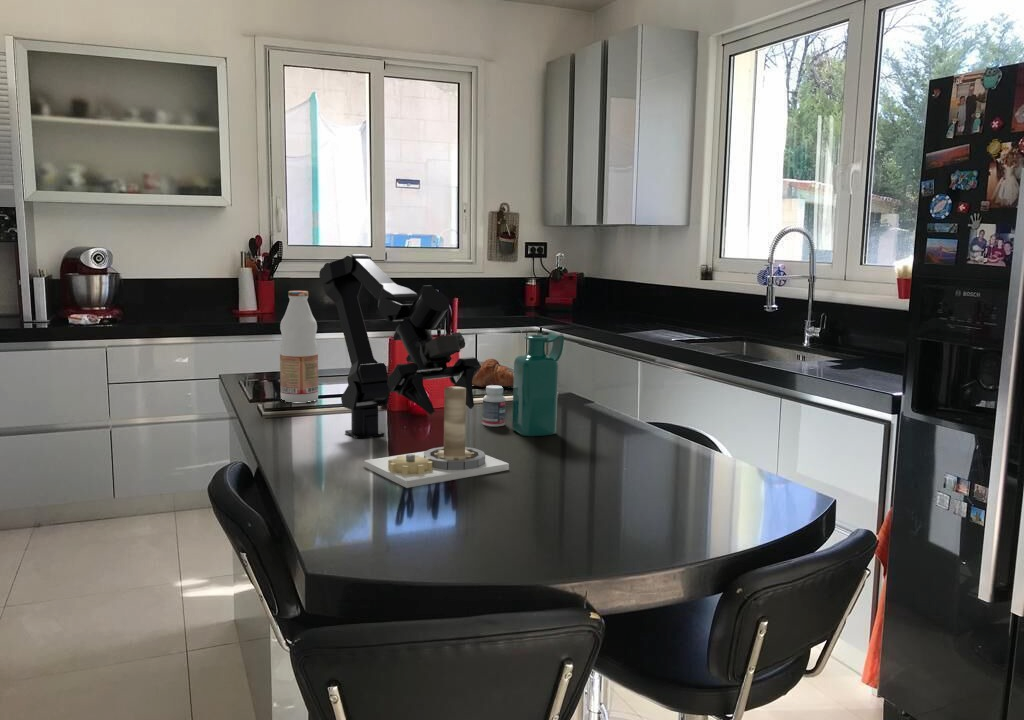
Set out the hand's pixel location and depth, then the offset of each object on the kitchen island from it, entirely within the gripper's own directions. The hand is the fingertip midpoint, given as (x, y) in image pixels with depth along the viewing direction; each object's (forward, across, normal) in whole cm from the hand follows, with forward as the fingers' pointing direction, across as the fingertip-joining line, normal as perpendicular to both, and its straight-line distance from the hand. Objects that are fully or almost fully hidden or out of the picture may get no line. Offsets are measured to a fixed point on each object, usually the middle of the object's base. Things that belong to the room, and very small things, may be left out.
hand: (452, 410), depth 164 cm
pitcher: (-1, +33, +17) cm, 37 cm away
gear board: (+7, -3, +8) cm, 11 cm away
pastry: (-37, +61, +54) cm, 90 cm away
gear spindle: (+7, 0, +6) cm, 10 cm away
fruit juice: (-44, +6, +60) cm, 75 cm away
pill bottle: (-9, +30, +25) cm, 40 cm away
